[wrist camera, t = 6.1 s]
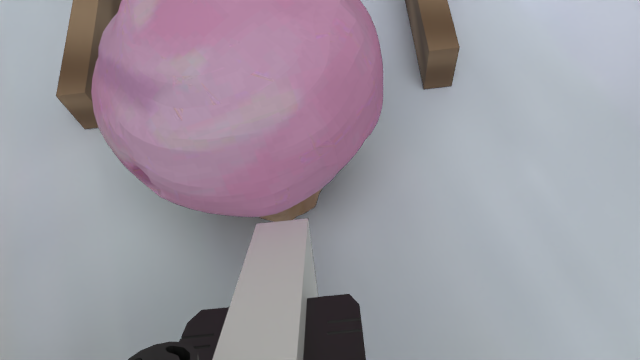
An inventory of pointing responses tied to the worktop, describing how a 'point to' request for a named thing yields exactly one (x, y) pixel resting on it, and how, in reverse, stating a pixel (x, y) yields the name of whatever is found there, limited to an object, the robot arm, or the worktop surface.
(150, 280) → the worktop surface
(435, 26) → the wooden flag stand
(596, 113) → the worktop surface
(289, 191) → the cupcake
